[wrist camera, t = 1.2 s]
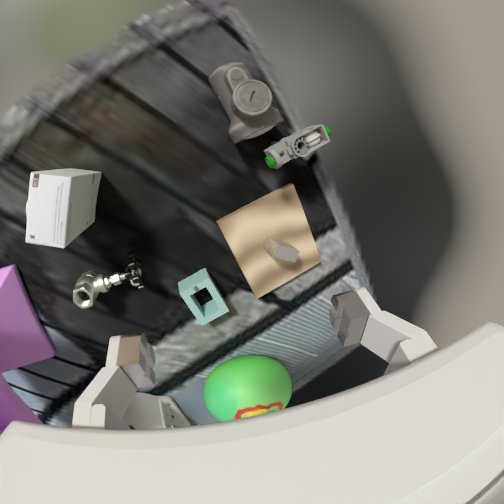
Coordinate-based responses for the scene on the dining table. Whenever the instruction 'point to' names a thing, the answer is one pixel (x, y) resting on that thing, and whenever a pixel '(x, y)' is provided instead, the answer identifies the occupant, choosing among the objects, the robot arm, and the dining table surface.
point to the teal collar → (187, 292)
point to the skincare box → (60, 205)
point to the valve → (108, 282)
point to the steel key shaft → (280, 249)
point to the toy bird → (247, 388)
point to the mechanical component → (296, 145)
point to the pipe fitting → (244, 101)
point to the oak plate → (273, 225)
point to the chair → (18, 343)
